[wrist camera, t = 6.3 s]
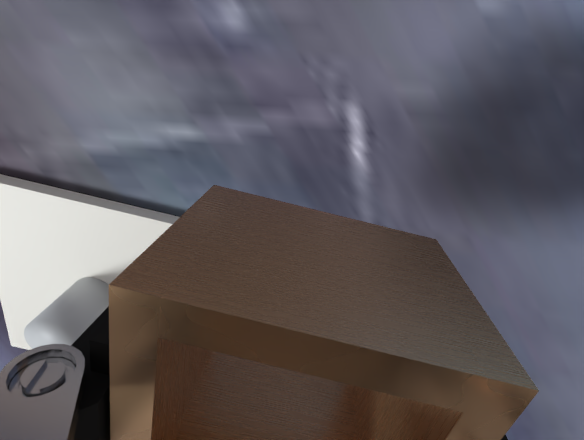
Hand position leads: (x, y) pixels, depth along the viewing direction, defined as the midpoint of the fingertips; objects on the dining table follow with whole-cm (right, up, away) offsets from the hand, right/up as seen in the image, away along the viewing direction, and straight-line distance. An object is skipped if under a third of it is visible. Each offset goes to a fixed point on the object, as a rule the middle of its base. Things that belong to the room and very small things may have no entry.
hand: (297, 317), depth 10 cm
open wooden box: (0, 0, +1) cm, 1 cm away
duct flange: (-13, -2, +13) cm, 19 cm away
